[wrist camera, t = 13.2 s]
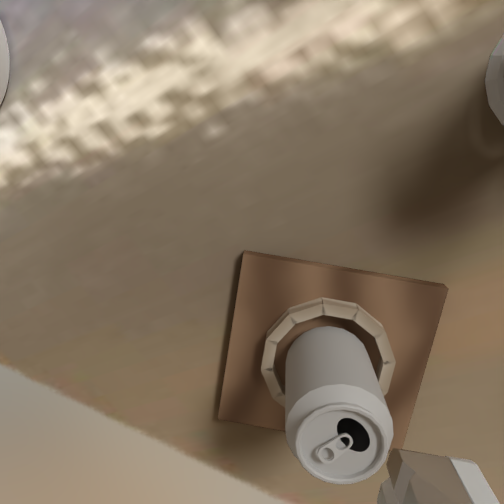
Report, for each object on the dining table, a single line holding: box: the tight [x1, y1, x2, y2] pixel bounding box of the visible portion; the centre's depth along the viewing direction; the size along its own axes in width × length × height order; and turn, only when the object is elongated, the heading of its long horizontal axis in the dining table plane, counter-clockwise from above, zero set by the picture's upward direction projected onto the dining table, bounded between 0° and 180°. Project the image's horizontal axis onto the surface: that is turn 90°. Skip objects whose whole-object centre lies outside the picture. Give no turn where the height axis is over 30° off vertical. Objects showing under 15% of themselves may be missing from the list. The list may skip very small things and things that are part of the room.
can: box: [285, 326, 394, 484], centre depth 35 cm, size 8×8×12 cm
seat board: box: [218, 250, 448, 451], centre depth 41 cm, size 18×17×3 cm
